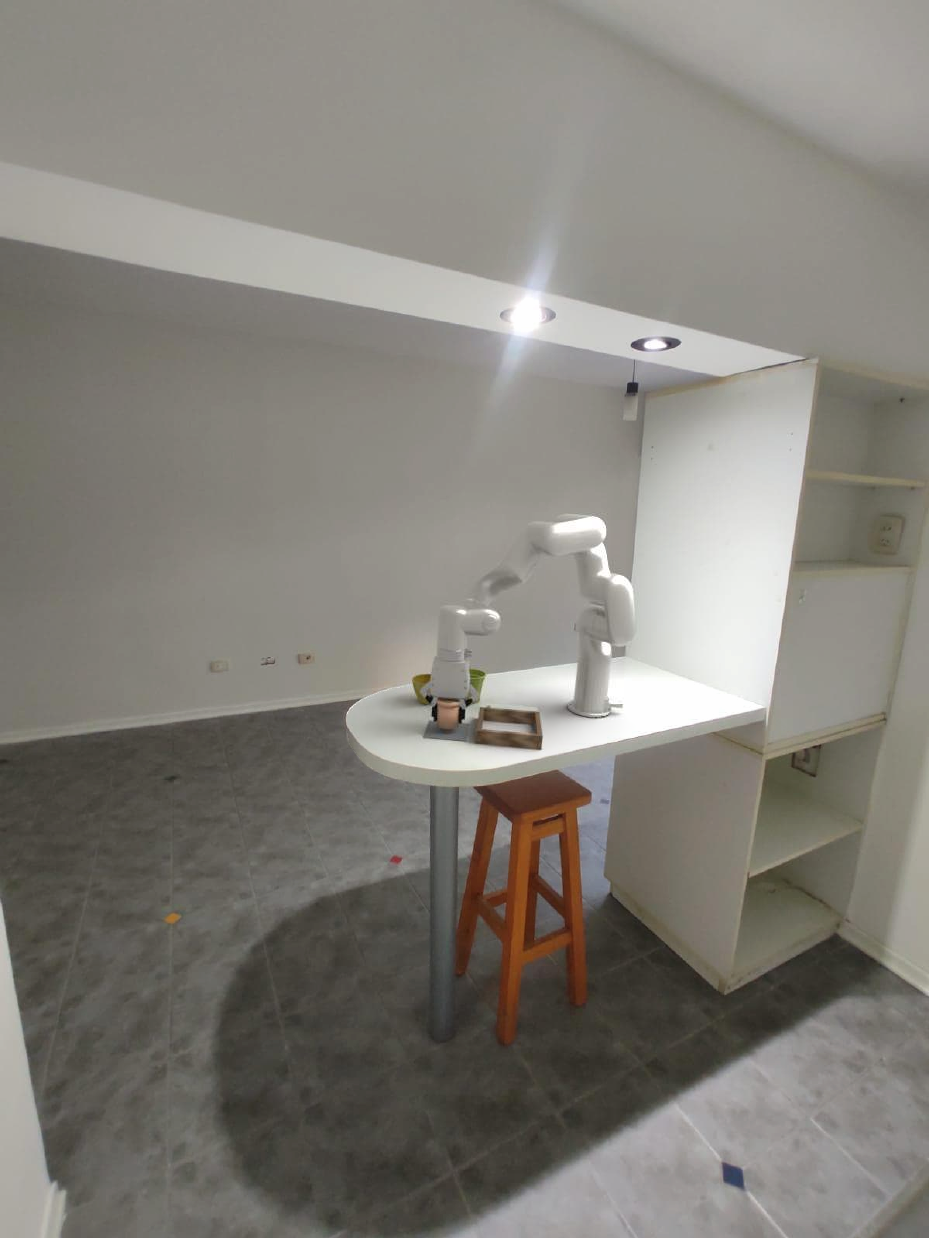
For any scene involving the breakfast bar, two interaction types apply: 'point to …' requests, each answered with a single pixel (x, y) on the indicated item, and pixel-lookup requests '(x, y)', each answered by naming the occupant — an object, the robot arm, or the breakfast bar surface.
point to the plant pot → (476, 681)
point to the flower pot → (421, 686)
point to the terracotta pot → (448, 713)
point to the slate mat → (447, 732)
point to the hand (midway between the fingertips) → (448, 720)
